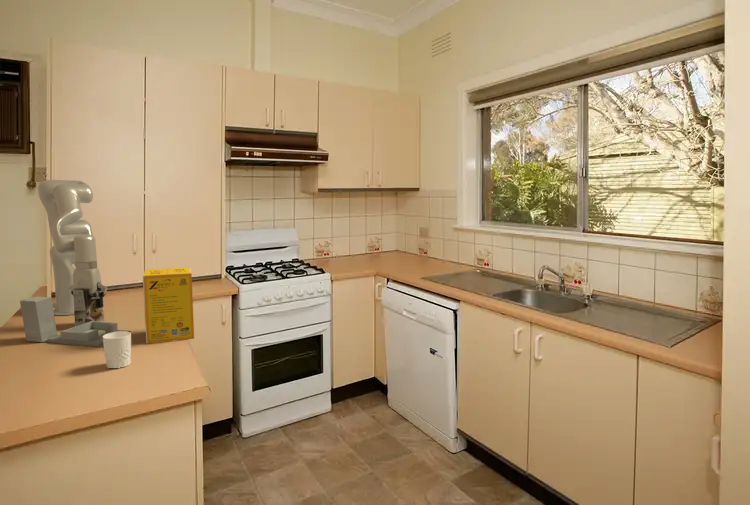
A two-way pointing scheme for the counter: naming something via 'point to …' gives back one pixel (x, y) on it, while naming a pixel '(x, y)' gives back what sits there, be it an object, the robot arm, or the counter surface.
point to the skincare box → (38, 318)
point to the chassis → (86, 334)
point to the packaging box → (168, 304)
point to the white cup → (117, 349)
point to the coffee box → (86, 307)
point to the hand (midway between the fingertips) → (89, 307)
